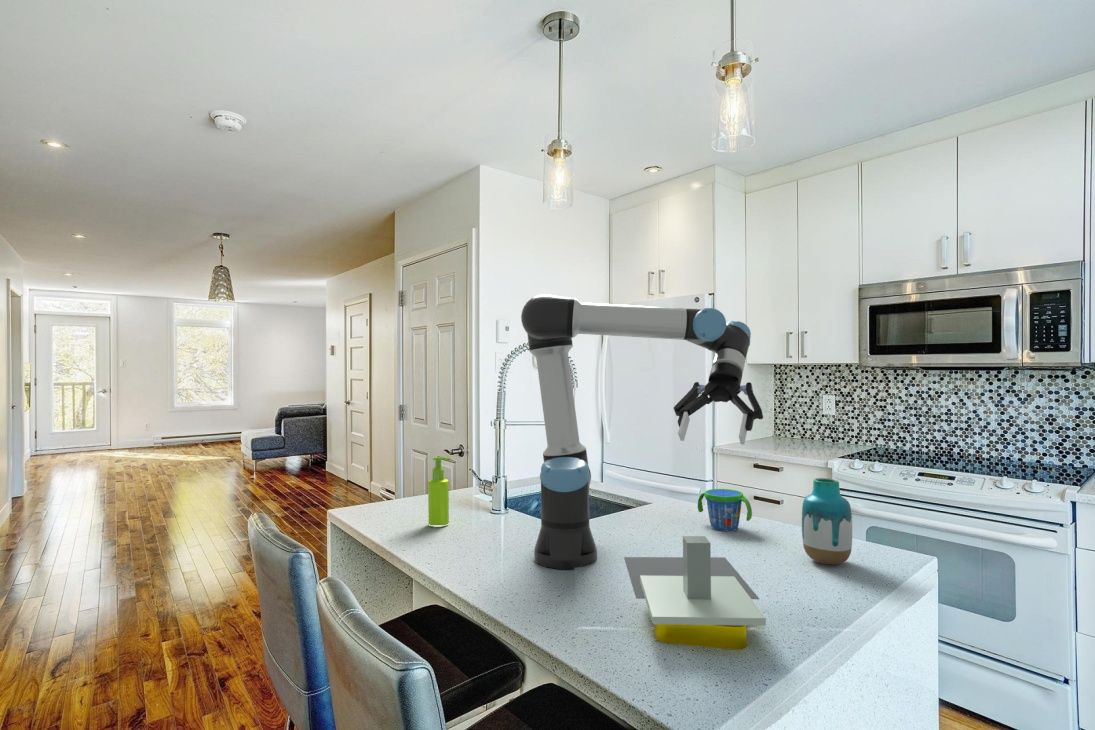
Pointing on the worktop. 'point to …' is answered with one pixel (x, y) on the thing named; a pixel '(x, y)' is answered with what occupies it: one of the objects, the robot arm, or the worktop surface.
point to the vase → (827, 523)
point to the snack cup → (724, 508)
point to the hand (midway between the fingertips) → (710, 438)
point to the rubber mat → (676, 570)
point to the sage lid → (699, 593)
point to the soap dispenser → (438, 495)
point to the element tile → (703, 635)
